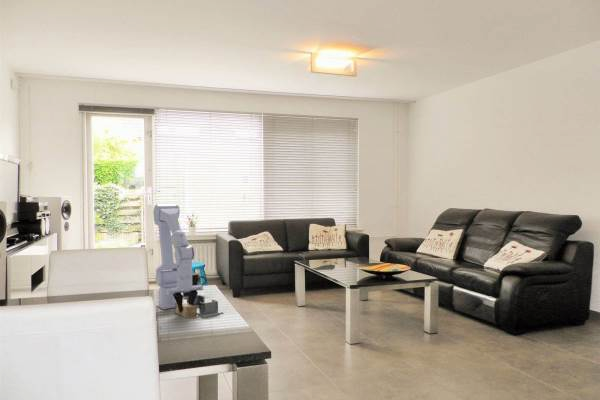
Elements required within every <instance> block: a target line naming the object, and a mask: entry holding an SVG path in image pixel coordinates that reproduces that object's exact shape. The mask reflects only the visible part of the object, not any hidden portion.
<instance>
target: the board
mask: <svg viewBox="0 0 600 400" xmlns="http://www.w3.org/2000/svg"><path fill="white" fill-rule="evenodd" d="M223 314H224V312H223V311H221V310H219V309H218V312H217V313H211V314H205V315H203V314H201V313H199V308H197V316H200V317H202V318H207V317H213V316H218V315H223Z"/></svg>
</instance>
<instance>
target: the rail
mask: <svg viewBox="0 0 600 400" xmlns="http://www.w3.org/2000/svg"><path fill="white" fill-rule="evenodd" d="M182 307H183V311H182V312H180V311H179V309H178V305H177V302H175V308H174V312H175V313H176V314H179V315H181V316H183V317H185V318H187V319H192V318H197V317H198V315H197V307H196V306H193V305H191V304H188V303H187V301H184V300H183V301H182Z"/></svg>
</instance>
